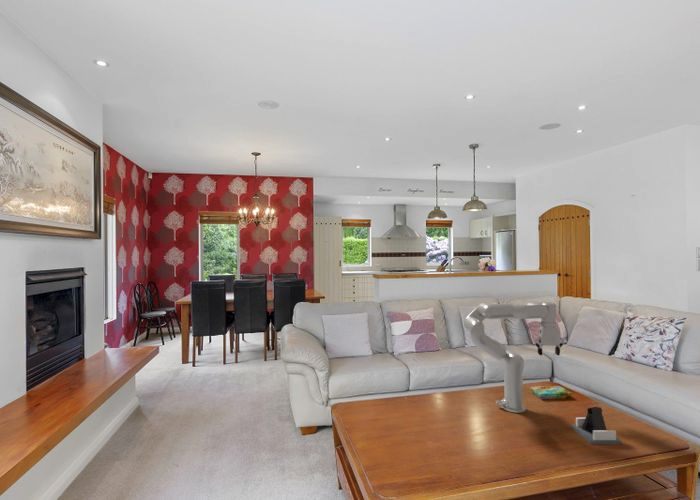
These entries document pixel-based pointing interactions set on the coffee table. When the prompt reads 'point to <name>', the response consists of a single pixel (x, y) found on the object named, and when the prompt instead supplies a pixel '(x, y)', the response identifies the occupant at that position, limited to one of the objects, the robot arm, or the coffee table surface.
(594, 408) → the phone stand
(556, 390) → the puzzle game
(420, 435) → the coffee table surface
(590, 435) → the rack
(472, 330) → the robot arm
